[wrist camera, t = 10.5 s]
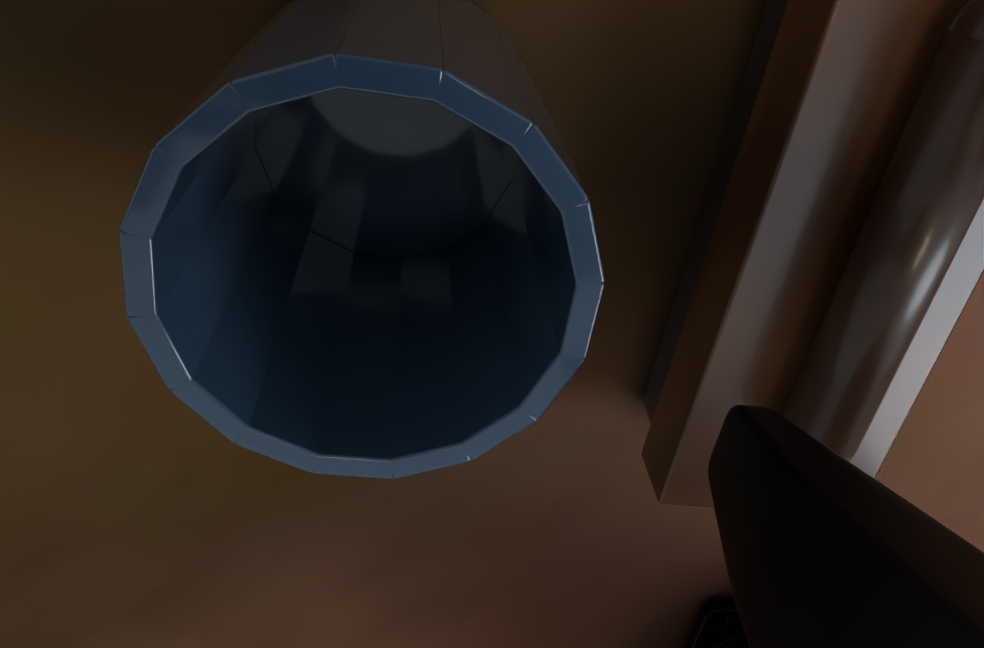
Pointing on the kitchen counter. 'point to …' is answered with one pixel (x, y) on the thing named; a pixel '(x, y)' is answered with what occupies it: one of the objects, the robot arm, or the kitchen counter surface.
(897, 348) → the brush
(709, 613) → the robot arm
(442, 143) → the cup
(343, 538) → the kitchen counter surface
